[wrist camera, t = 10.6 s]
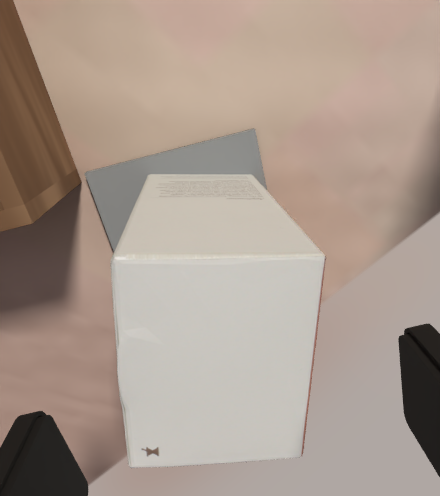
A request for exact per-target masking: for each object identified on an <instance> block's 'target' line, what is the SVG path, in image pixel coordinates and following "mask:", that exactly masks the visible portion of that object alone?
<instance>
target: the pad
mask: <svg viewBox="0 0 440 496" xmlns="http://www.w3.org/2000/svg"><path fill="white" fill-rule="evenodd" d="M150 174H251V175H253V176H254V177H255V178H256V179H257V180H258V181H259V182H260V184H261V185H262V186H263V187H264V188H265V189H266V190H267V187H266V182H265V177H264V172H263V167H262V162H261V157H260V152H259V147H258V142H257V137H256V132H255V129H250V130H246V131H242V132H238V133H234V134H231V135H227V136H223V137H219V138H215V139H211V140H207V141H204V142H200V143H196V144H192V145H188V146H184V147H180V148H176V149H173V150H169V151H165V152H161V153H157V154H153V155H149V156H145V157H142V158H138V159H134V160H130V161H126V162H122V163H118V164H114V165H111V166H107V167H103V168H99V169H95V170H91V171H87V172H86V173H85V176H86V178H87V181H88V184H89V186H90V189H91V192H92V195H93V197H94V200H95V203H96V205H97V208H98V211H99V213H100V216H101V219H102V222H103V224H104V227H105V230H106V232H107V235H108V238H109V240H110V243H111V246H112V248H113V251H115V249H116V247H117V244H118V242H119V240H120V237H121V235H122V233H123V231H124V229H125V226H126V224H127V221H128V219H129V217H130V215H131V212H132V210H133V208H134V206H135V203H136V201H137V199H138V197H139V195H140V192H141V190H142V188H143V186H144V183H145V181H146V178H147V176H148V175H150Z"/></svg>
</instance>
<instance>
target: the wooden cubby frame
mask: <svg viewBox="0 0 440 496" xmlns="http://www.w3.org/2000/svg"><path fill="white" fill-rule="evenodd" d="M80 183H81V180H80V177H79V174H78V172H77V169H76V166H75V164H74V161H73V158H72V156H71V153H70V150H69V148H68V145H67V143H66V140H65V137H64V135H63V132H62V129H61V127H60V124H59V121H58V119H57V116H56V113H55V111H54V108H53V105H52V103H51V100H50V97H49V95H48V92H47V90H46V87H45V84H44V82H43V79H42V76H41V74H40V71H39V68H38V66H37V63H36V60H35V58H34V55H33V52H32V50H31V47H30V44H29V42H28V39H27V37H26V34H25V31H24V29H23V26H22V23H21V21H20V18H19V15H18V13H17V10H16V7H15V5H14V2H13V0H0V232H1V231H5V230H9V229H13V228H17V227H21V226H25V225H29V224H32V223H34V222H35V221H36V220H37V219H38V218H40V217H41V216H42V215H43V214H44V213H46V212H47V211H48V210H49V209H50V208H51V207H53V206H54V205H55V204H56V203H57V202H59V201H60V200H61V199H62V198H63V197H64V196H66V195H67V194H68V193H69V192H70V191H72V190H73V189H74V188H75V187H76V186H77V185H79V184H80Z"/></svg>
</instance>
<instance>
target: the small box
mask: <svg viewBox="0 0 440 496" xmlns="http://www.w3.org/2000/svg"><path fill="white" fill-rule="evenodd" d="M325 260H326V256H325V255H324V254H323V253H322V251H321V250H320V249H319V248H318V247H317V246H316V245H315V244H314V242H313V241H312V240H311V239H310V238H309V237H308V236H307V235H306V234H305V232H304V231H303V230H302V229H301V228H300V227H299V226H298V225H297V223H296V222H295V221H294V220H293V219H292V218H291V217H290V216H289V215H288V214H287V213H286V211H285V210H284V209H283V208H282V207H281V206H280V205H279V204H278V202H277V201H276V200H275V199H274V198H273V197H272V196H271V194H270V193H269V192H268V191H267V190H266V189H265V188H264V187H263V186H262V185H261V184H260V182H259V181H258V180H257V179H256V178H255V177H254V176H253V175H251V174H150V175H148V176H147V178H146V181H145V183H144V186H143V188H142V190H141V192H140V195H139V197H138V199H137V201H136V203H135V206H134V208H133V210H132V212H131V215H130V217H129V219H128V221H127V224H126V226H125V229H124V231H123V233H122V235H121V237H120V240H119V242H118V244H117V247H116V249H115V251H114V254H113V256H112V258H111V280H112V296H113V310H114V321H115V336H116V350H117V374H118V384H119V395H120V401H121V405H122V410H123V418H124V427H125V437H126V446H127V455H128V464H129V467H130V468H141V467H142V468H143V467H172V466H189V465H190V466H191V465H205V464H222V463H233V462H234V463H235V462H247V461H263V460H275V459H285V458H299V457H301V456H302V454H303V449H304V440H305V432H306V431H305V430H306V422H307V414H308V405H309V397H310V389H311V379H312V371H313V364H314V354H315V347H316V339H317V329H318V320H319V312H320V303H321V295H322V286H323V277H324V269H325Z"/></svg>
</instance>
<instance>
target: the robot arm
mask: <svg viewBox="0 0 440 496" xmlns="http://www.w3.org/2000/svg"><path fill="white" fill-rule="evenodd" d="M399 352H400V366H401V380H402V393H403V406H404V414H405V418H406V421H407V424H408V426H409V428H410V429H411V431H412V432H413V434H414V436H415V437H416V439H417V441H418V442H419V444H420V446H421V447H422V449H423V451H424V452H425V454H426V456H427V457H428V459H429V461H430V462H431V464H432V465H433V467H434V469H435V470H436V472H437V474H438V475H439V477H440V334H439V333H438V332H437V330H436V329H435V328H434V327H433V326H431V325H430V324H424V325H419V326H415V327H411V328H407V329H405V331H404V335H402V336H399ZM0 496H88V484H87V481H86V479H85V477H84V475H83V473H82V471H81V469H80V467H79V466H78V464H77V462H76V460H75V458H74V456H73V455H72V453H71V451H70V449H69V447H68V445H67V444H66V442H65V440H64V438H63V436H62V434H61V433H60V431H59V429H58V427H57V425H56V423H55V421H54V420H53V418H52V417H51V416H50V415H46V414H45V413H44V412H43V411H38V412H34V413H29V414H25V415H20V416H19V417H17V419H16V420H15V422H14V423H13V425H12V427H11V429H10V431H9V433H8V435H7V436H6V438H5V440H4V442H3V444H2V446H1V447H0Z"/></svg>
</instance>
